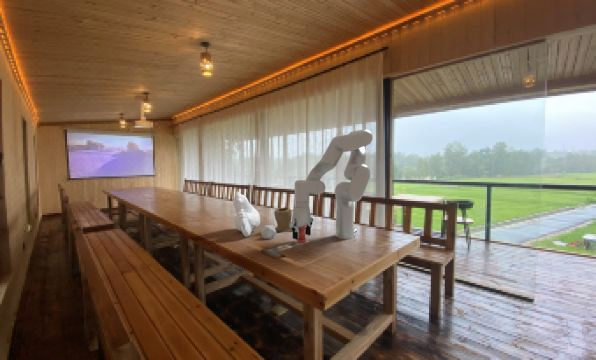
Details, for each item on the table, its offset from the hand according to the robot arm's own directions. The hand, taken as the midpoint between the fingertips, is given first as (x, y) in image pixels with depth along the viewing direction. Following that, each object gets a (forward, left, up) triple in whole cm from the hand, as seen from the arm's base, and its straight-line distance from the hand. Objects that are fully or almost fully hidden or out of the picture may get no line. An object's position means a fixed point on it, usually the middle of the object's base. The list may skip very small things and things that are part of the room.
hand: (301, 236), depth 138 cm
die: (+7, -18, -4) cm, 20 cm away
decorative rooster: (+9, -38, -4) cm, 39 cm away
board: (+9, 0, -4) cm, 10 cm away
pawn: (0, 0, -2) cm, 2 cm away
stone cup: (-10, -22, -4) cm, 25 cm away
